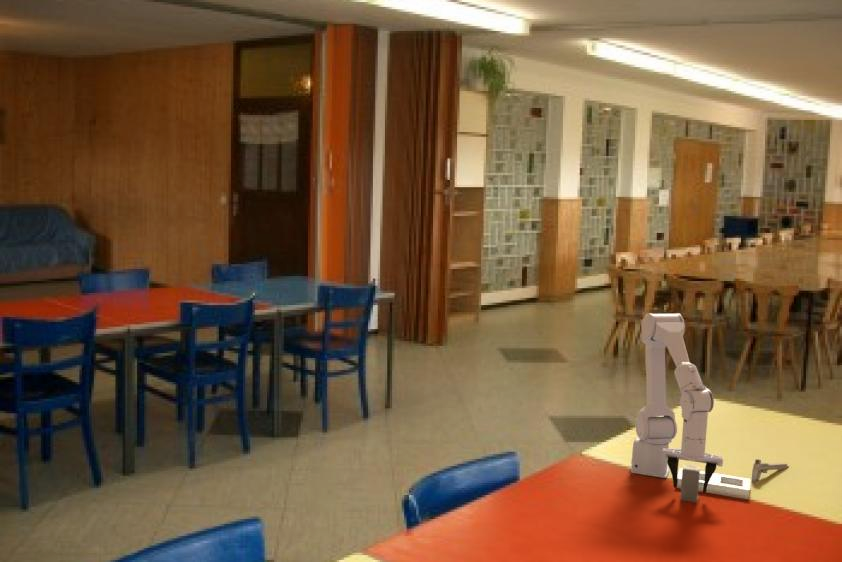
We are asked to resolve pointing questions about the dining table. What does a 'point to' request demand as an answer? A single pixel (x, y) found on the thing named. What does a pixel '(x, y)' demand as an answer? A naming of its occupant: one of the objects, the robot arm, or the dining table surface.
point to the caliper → (765, 468)
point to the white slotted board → (722, 485)
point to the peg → (690, 483)
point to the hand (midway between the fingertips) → (689, 488)
